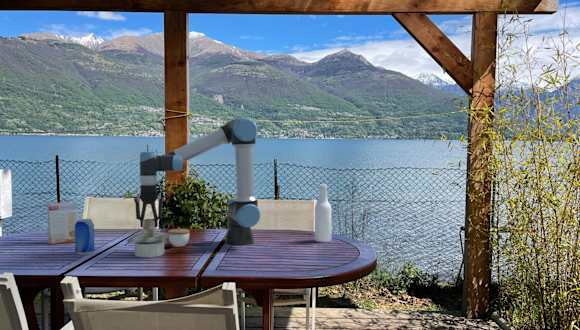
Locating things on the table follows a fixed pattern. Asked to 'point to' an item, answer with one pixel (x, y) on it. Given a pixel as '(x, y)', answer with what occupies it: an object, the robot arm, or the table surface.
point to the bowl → (149, 249)
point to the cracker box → (62, 222)
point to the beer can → (84, 237)
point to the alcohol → (323, 216)
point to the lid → (149, 234)
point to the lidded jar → (179, 237)
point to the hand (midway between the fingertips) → (149, 233)
